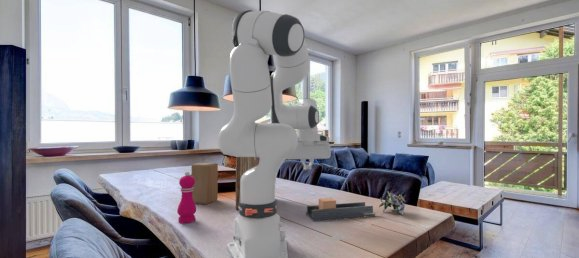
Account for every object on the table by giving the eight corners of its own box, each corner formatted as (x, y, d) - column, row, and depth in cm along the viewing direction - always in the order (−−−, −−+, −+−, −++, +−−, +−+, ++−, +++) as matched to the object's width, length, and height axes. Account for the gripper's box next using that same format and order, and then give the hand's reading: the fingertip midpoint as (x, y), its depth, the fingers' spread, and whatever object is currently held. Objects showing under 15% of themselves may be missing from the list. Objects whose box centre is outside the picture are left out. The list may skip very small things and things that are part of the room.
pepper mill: (190, 216, 112) (190, 170, 112) (199, 220, 107) (200, 171, 108) (173, 221, 106) (174, 171, 107) (183, 225, 102) (183, 173, 102)
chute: (313, 221, 107) (313, 211, 107) (306, 214, 116) (306, 205, 116) (374, 216, 114) (374, 206, 114) (362, 209, 123) (362, 201, 123)
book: (253, 211, 120) (254, 146, 121) (235, 209, 123) (235, 145, 123) (271, 198, 145) (271, 143, 145) (255, 197, 147) (255, 143, 148)
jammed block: (322, 215, 110) (322, 201, 110) (318, 212, 115) (318, 198, 115) (336, 214, 112) (336, 200, 112) (331, 211, 117) (331, 197, 117)
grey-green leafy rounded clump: (401, 227, 116) (406, 209, 109) (375, 219, 120) (379, 202, 113) (403, 207, 124) (408, 190, 117) (379, 201, 128) (382, 183, 121)
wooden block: (190, 203, 134) (190, 164, 134) (202, 198, 143) (202, 162, 144) (207, 204, 131) (207, 164, 131) (218, 200, 141) (218, 162, 141)
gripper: (285, 137, 106) (285, 171, 106) (332, 137, 111) (332, 169, 111) (282, 137, 112) (282, 169, 112) (326, 137, 117) (326, 167, 117)
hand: (307, 169), depth 112 cm, fingers closed
